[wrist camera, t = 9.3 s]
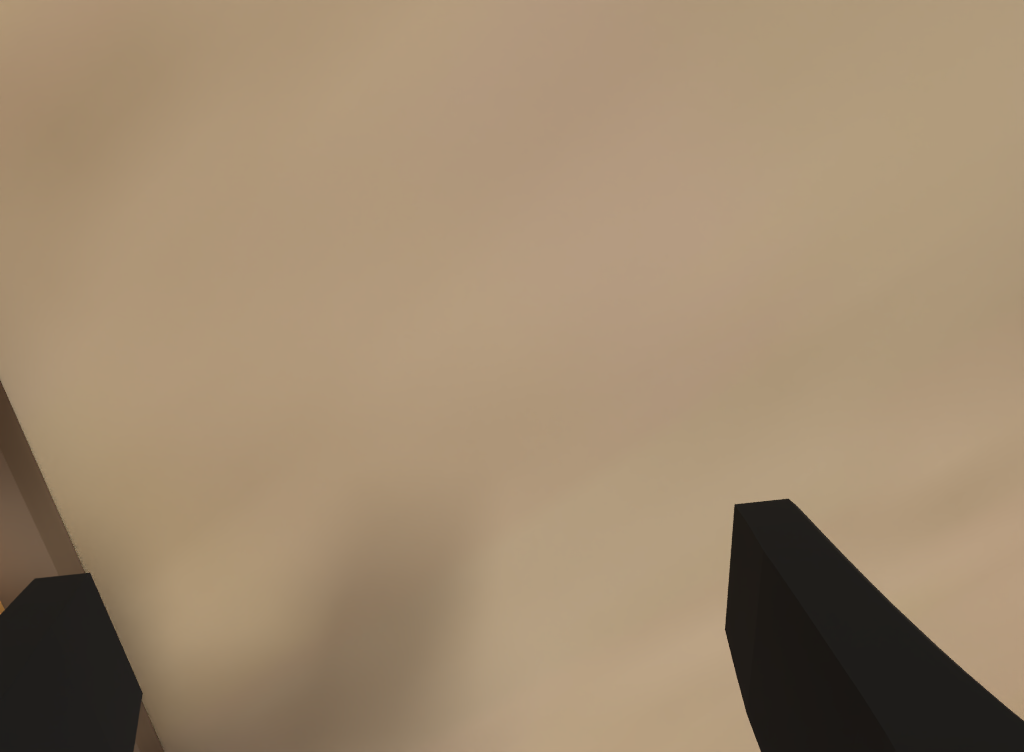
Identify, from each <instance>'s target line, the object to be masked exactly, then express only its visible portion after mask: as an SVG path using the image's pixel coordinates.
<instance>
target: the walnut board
mask: <svg viewBox="0 0 1024 752" xmlns="http://www.w3.org/2000/svg"><path fill="white" fill-rule="evenodd" d="M82 573H85V572H84V569H83V567H82V565H81V563H80V560H79V558H78V556H77V553H76V551H75V549H74V547H73V544H72V542H71V540H70V538H69V535H68V533H67V531H66V529H65V526H64V524H63V522H62V519H61V517H60V515H59V513H58V510H57V508H56V506H55V504H54V501H53V499H52V497H51V495H50V492H49V490H48V488H47V485H46V483H45V481H44V479H43V476H42V474H41V472H40V470H39V467H38V465H37V463H36V460H35V458H34V456H33V454H32V451H31V449H30V447H29V445H28V442H27V440H26V438H25V436H24V433H23V431H22V429H21V426H20V424H19V422H18V420H17V417H16V415H15V413H14V411H13V408H12V406H11V404H10V402H9V399H8V397H7V395H6V392H5V390H4V388H3V386H2V383H1V381H0V601H1V603H2V605H3V607H4V609H6V608H7V607H8V606H9V605H10V604H11V603H12V602H13V601H14V599H15V598H16V597H17V596H18V595H19V594H20V593H21V592H22V591H23V590H24V589H25V588H26V587H27V586H28V585H29V584H30V583H31V582H32V581H33V580H34V579H35V578H44V577H53V576H63V575H72V574H82ZM133 752H164V751H163V748H162V746H161V744H160V742H159V739H158V737H157V735H156V733H155V730H154V728H153V726H152V724H151V721H150V719H149V717H148V714H147V712H146V710H145V708H144V705H143V703H142V701H141V707H140V713H139V720H138V727H137V733H136V740H135V746H134V751H133Z"/></svg>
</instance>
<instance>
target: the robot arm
mask: <svg viewBox="0 0 1024 752" xmlns="http://www.w3.org/2000/svg"><path fill="white" fill-rule="evenodd" d="M725 631H726V635H727V639H728V643H729V647H730V651H731V655H732V659H733V663H734V667H735V671H736V675H737V679H738V683H739V686H740V690H741V694H742V698H743V701H744V705H745V709H746V712H747V715H748V718H749V721H750V724H751V726H752V729H753V732H754V734H755V737H756V739H757V742H758V745H759V747H760V750H761V752H1024V721H1023V720H1022V719H1021V718H1019V717H1018V716H1017V715H1016V714H1015V713H1013V712H1012V711H1011V710H1010V709H1008V708H1007V707H1006V706H1005V705H1004V704H1003V703H1001V702H1000V701H999V700H998V699H997V698H996V697H994V696H993V695H992V694H991V693H990V692H989V691H987V690H986V689H985V688H984V687H983V686H982V685H980V684H979V683H978V682H977V681H976V680H975V679H973V678H972V677H971V676H970V675H969V674H968V673H966V672H965V671H964V670H963V669H962V668H961V667H960V666H959V665H957V664H956V663H955V662H954V661H953V660H952V659H951V658H950V657H949V656H947V655H946V654H945V653H944V652H943V651H942V650H941V649H940V648H939V647H938V646H936V645H935V644H934V643H933V642H932V641H931V640H930V639H929V638H928V637H927V636H926V635H925V634H924V633H923V632H922V631H921V630H919V629H918V628H917V627H916V626H915V625H914V624H913V623H912V622H911V621H910V620H909V619H908V618H907V617H906V616H905V615H904V614H902V613H901V612H900V611H899V610H898V609H897V608H896V607H895V606H894V605H893V604H892V603H891V602H890V601H889V600H888V599H887V598H886V597H885V596H884V595H883V594H882V593H881V592H880V591H879V590H878V589H877V588H876V587H875V586H874V585H873V584H872V583H871V582H870V581H869V580H868V579H867V578H866V577H865V576H864V575H863V574H862V573H861V572H860V571H859V570H858V569H857V568H856V567H855V566H854V565H853V564H852V563H851V562H850V561H849V560H848V559H847V558H846V557H845V556H844V555H843V554H842V553H841V552H840V551H839V550H838V549H837V548H836V547H835V546H834V545H833V543H832V542H831V541H830V540H829V539H828V538H827V537H826V536H825V535H824V534H823V533H822V532H821V531H820V530H819V529H818V528H817V527H816V526H815V525H814V523H813V522H812V521H811V520H810V519H809V518H808V517H807V516H806V515H805V514H804V513H803V512H802V511H801V510H800V509H799V508H798V507H797V506H796V505H795V504H794V503H793V502H792V501H790V500H789V499H782V500H772V501H763V502H753V503H744V504H735V507H734V520H733V533H732V546H731V559H730V572H729V585H728V598H727V612H726V625H725ZM142 694H143V693H142V691H141V688H140V686H139V684H138V682H137V679H136V677H135V675H134V672H133V670H132V668H131V666H130V663H129V661H128V659H127V656H126V654H125V652H124V650H123V647H122V645H121V643H120V640H119V638H118V636H117V634H116V631H115V629H114V627H113V624H112V622H111V620H110V617H109V615H108V613H107V611H106V608H105V606H104V604H103V601H102V599H101V597H100V595H99V592H98V590H97V588H96V585H95V583H94V581H93V579H92V576H91V574H90V573H82V574H72V575H63V576H53V577H44V578H35V579H34V580H33V581H32V582H31V583H30V584H29V585H28V586H27V587H26V588H25V589H24V590H23V591H22V592H21V593H20V594H19V595H18V596H17V597H16V598H15V599H14V601H13V602H12V603H11V604H10V605H9V606H8V607H7V608H6V609H5V610H4V611H3V612H2V613H1V615H0V752H133V751H134V746H135V740H136V733H137V727H138V720H139V713H140V707H141V700H142Z"/></svg>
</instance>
